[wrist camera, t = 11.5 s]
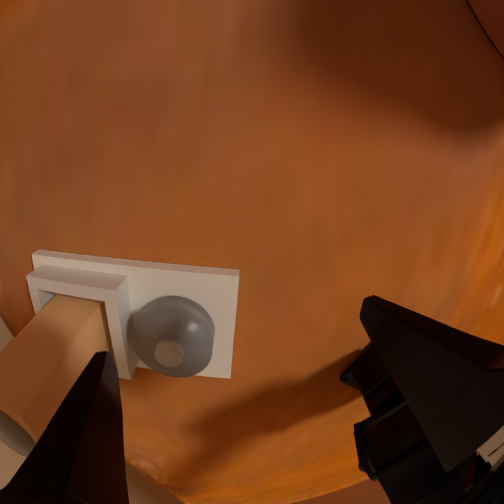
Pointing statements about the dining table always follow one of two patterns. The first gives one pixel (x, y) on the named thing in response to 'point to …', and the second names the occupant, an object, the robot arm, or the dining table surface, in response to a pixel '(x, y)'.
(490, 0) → the potted cactus
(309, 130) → the dining table surface
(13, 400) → the block
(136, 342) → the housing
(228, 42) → the dining table surface
